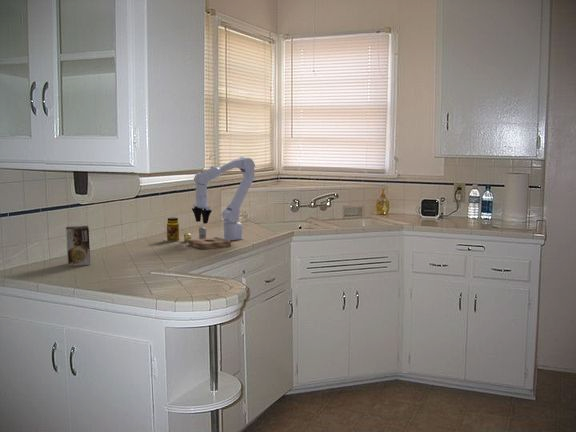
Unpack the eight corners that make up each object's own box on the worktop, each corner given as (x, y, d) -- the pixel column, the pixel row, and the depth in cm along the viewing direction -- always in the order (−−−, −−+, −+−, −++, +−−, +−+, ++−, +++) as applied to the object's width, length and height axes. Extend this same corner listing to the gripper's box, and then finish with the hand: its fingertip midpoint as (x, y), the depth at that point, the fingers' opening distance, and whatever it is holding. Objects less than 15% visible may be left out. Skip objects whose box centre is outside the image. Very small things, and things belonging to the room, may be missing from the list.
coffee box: (89, 262, 280) (88, 225, 278) (90, 265, 275) (89, 227, 272) (67, 263, 277) (65, 226, 275) (67, 266, 271) (66, 228, 269)
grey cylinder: (203, 240, 337) (203, 227, 336) (207, 241, 334) (207, 228, 333) (197, 241, 334) (197, 227, 334) (201, 242, 332) (201, 228, 331)
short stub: (189, 240, 335) (189, 233, 334) (192, 241, 332) (192, 234, 331) (182, 241, 333) (182, 233, 332) (186, 242, 330) (186, 234, 329)
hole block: (216, 241, 332) (216, 237, 332) (230, 246, 321) (230, 241, 321) (188, 245, 323) (188, 240, 323) (202, 249, 312) (202, 244, 311)
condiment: (169, 242, 330) (168, 219, 328) (163, 239, 337) (162, 217, 335) (182, 241, 333) (182, 218, 332) (176, 238, 341) (176, 216, 339)
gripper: (187, 195, 334) (188, 221, 336) (201, 198, 322) (201, 224, 324) (199, 194, 338) (200, 220, 340) (213, 197, 326) (214, 223, 328)
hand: (201, 222), depth 332 cm, fingers open, 7 cm apart
